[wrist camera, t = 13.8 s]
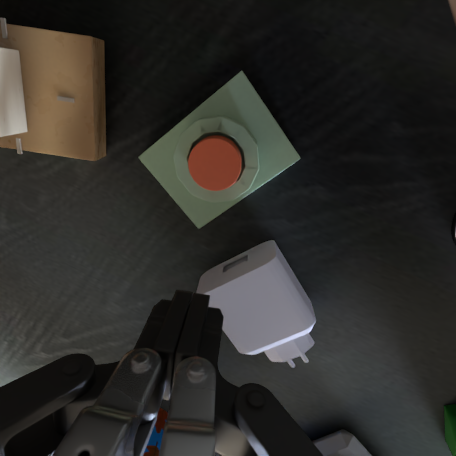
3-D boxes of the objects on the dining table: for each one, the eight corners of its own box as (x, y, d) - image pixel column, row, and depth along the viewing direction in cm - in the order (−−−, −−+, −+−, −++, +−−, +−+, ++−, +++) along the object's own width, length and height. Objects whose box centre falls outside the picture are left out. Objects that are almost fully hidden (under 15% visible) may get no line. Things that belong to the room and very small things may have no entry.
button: (221, 124, 27) (219, 126, 25) (251, 166, 28) (251, 171, 26) (181, 155, 28) (177, 159, 26) (212, 194, 29) (210, 200, 28)
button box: (242, 71, 28) (241, 68, 25) (298, 155, 30) (304, 162, 27) (143, 154, 31) (131, 161, 28) (201, 223, 34) (195, 236, 31)
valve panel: (104, 35, 27) (90, 30, 25) (106, 159, 32) (94, 165, 29) (-56, 12, 28) (-86, 4, 25) (-33, 138, 32) (-56, 142, 29)
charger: (264, 361, 41) (201, 272, 36) (332, 335, 39) (273, 236, 34) (266, 393, 37) (194, 297, 32) (342, 366, 34) (276, 258, 30)
